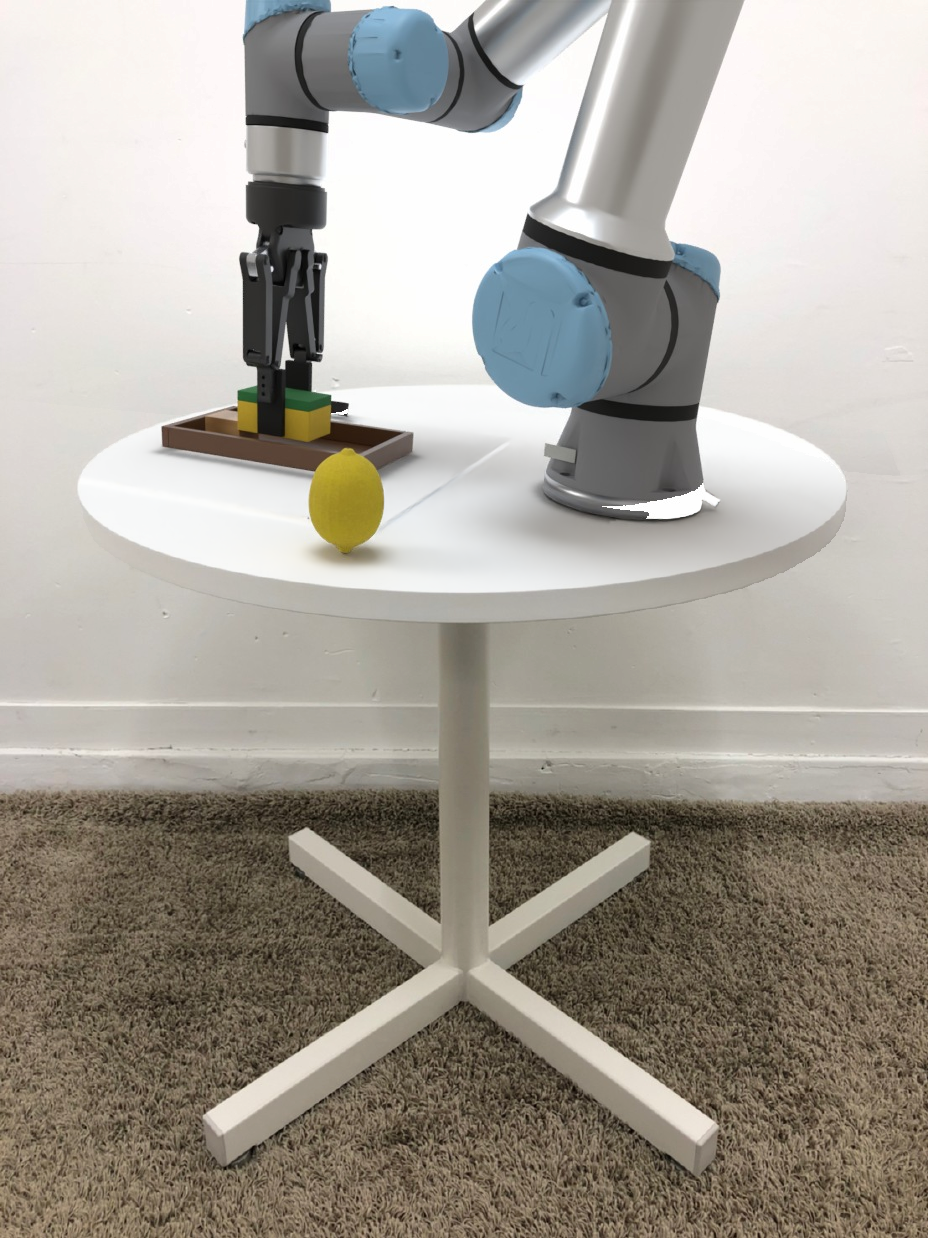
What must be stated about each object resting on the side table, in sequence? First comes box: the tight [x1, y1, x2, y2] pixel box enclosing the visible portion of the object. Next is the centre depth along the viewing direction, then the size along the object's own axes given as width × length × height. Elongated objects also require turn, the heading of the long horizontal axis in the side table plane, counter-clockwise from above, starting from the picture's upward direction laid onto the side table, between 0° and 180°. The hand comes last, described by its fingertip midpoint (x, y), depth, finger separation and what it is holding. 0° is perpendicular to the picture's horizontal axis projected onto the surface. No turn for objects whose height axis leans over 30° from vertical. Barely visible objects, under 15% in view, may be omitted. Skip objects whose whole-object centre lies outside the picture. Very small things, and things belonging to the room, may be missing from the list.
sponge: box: [237, 385, 332, 442], centre depth 99 cm, size 5×8×4 cm, turn 72°
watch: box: [313, 389, 350, 418], centre depth 117 cm, size 8×5×4 cm, turn 85°
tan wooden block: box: [205, 410, 259, 439], centre depth 101 cm, size 4×4×2 cm
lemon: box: [308, 448, 385, 554], centre depth 71 cm, size 6×6×8 cm
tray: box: [161, 405, 414, 473], centre depth 99 cm, size 22×14×3 cm, turn 72°
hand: (284, 429), depth 99 cm, fingers closed on sponge, 5 cm apart
